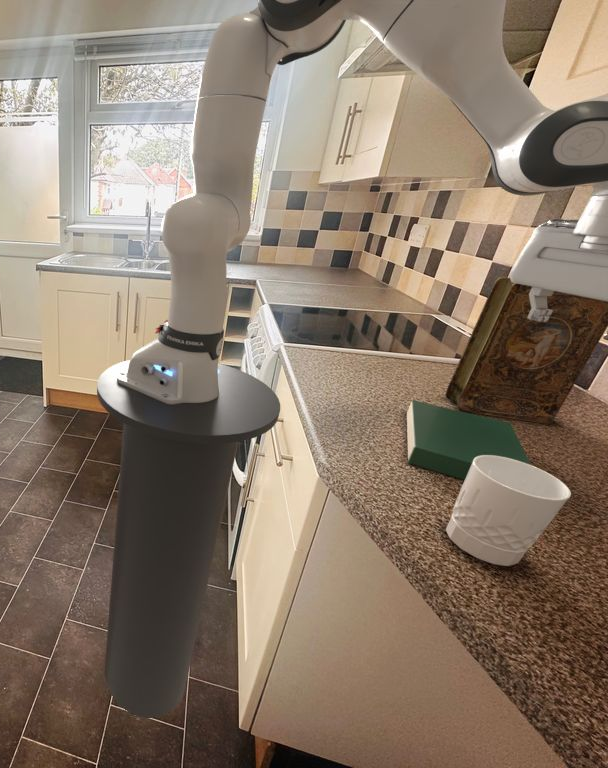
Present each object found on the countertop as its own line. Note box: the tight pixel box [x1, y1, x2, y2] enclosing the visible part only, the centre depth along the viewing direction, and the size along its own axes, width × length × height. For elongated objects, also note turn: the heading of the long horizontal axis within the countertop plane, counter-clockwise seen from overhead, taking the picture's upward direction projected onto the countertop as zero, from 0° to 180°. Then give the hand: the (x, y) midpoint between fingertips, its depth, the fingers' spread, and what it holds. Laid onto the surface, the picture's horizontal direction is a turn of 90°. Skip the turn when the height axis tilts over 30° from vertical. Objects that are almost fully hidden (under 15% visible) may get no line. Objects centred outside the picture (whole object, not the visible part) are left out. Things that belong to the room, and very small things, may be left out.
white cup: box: [445, 455, 572, 567], centre depth 47 cm, size 8×8×10 cm
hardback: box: [406, 399, 532, 481], centre depth 68 cm, size 14×20×3 cm
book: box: [445, 276, 608, 425], centre depth 77 cm, size 16×6×25 cm, turn 73°
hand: (572, 330), depth 57 cm, fingers open, 8 cm apart
